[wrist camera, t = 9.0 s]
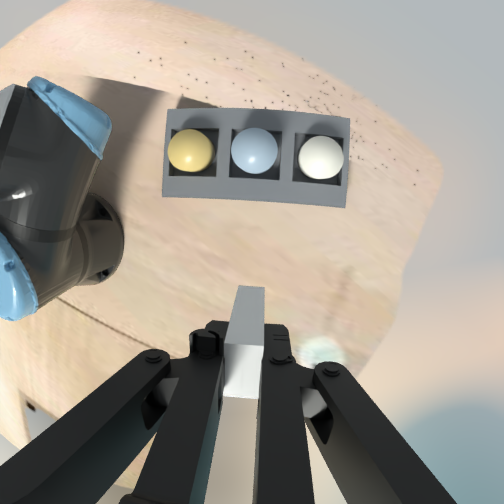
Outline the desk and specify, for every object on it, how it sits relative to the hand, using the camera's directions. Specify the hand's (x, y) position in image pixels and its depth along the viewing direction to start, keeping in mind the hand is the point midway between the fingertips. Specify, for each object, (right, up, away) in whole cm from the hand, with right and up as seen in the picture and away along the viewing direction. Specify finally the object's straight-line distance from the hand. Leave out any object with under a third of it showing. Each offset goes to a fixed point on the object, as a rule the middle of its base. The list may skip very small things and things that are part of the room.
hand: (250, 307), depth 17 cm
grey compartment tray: (+1, +16, +21) cm, 27 cm away
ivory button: (+9, +15, +20) cm, 27 cm away
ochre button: (-7, +17, +20) cm, 27 cm away
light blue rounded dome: (+1, +16, +19) cm, 24 cm away
